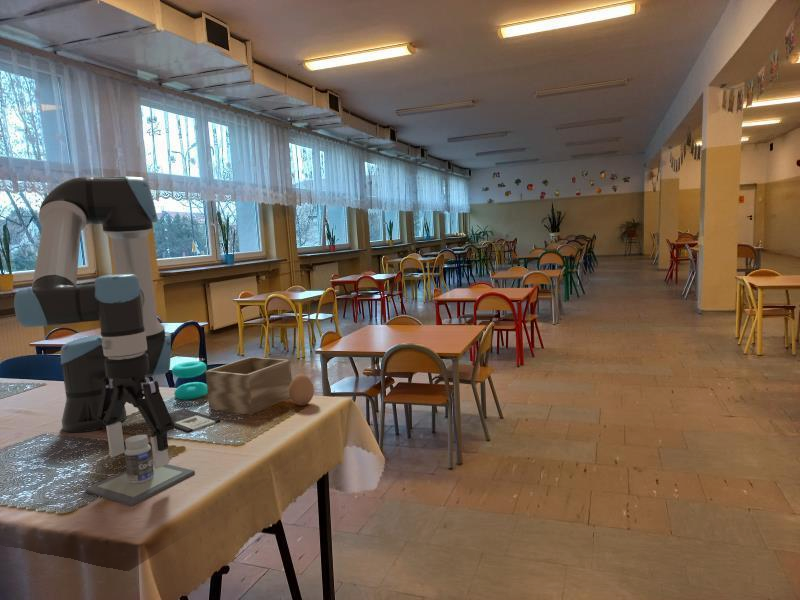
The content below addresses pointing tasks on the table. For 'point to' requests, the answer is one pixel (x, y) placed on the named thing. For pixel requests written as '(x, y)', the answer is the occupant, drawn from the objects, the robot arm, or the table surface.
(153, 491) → the coaster
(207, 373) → the bin
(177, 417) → the chocolate bar
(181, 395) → the donuts
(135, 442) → the pill bottle
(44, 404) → the table surface
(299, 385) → the egg
